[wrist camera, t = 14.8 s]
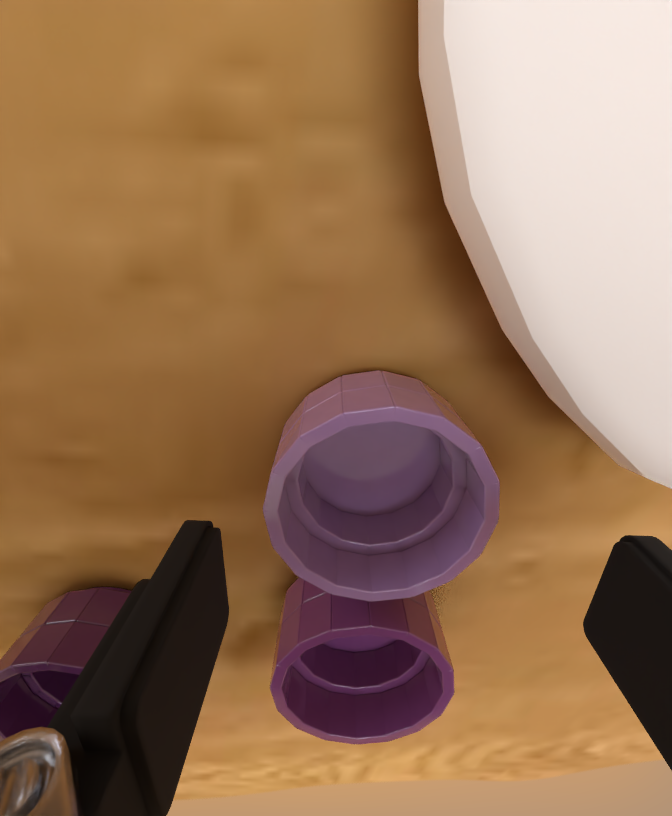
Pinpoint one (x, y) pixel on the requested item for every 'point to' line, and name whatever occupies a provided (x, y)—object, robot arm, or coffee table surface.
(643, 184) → the plate
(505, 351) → the coffee table surface
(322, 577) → the lilac dish
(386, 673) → the plum dish
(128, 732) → the robot arm
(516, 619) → the coffee table surface
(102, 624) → the aubergine dish
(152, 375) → the coffee table surface
